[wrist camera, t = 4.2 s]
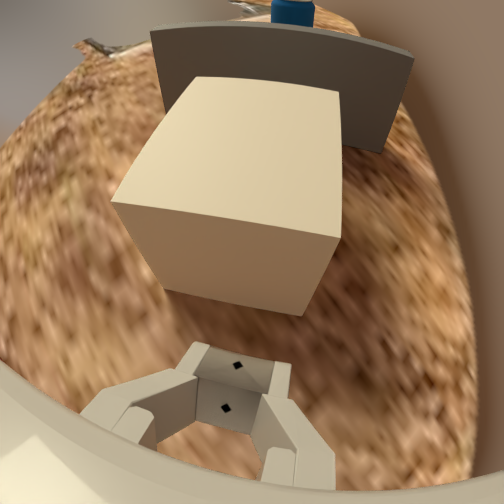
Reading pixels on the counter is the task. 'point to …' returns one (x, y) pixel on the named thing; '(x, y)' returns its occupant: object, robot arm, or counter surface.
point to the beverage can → (293, 12)
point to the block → (240, 192)
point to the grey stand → (290, 67)
